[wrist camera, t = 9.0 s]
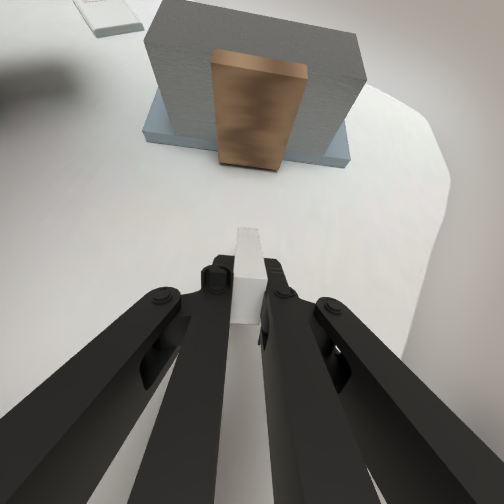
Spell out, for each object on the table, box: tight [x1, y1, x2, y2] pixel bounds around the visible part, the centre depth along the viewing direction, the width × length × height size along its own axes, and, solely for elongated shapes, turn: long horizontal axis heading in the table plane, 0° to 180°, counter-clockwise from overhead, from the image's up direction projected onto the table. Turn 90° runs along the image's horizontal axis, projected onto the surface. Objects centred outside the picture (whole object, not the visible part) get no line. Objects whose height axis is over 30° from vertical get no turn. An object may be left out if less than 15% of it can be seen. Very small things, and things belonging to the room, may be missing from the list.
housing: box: [142, 0, 367, 168], centre depth 22 cm, size 28×9×10 cm, turn 87°
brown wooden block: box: [211, 48, 308, 170], centre depth 21 cm, size 8×12×10 cm
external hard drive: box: [73, 0, 144, 38], centre depth 32 cm, size 2×8×12 cm
